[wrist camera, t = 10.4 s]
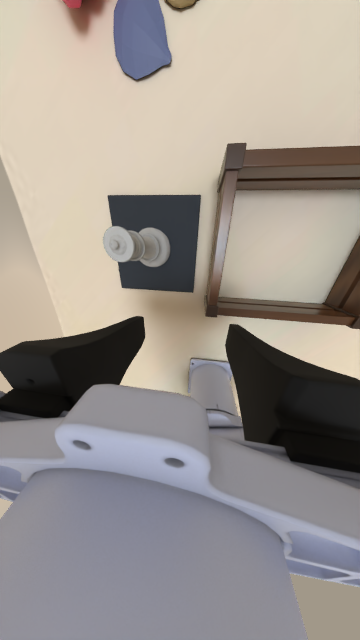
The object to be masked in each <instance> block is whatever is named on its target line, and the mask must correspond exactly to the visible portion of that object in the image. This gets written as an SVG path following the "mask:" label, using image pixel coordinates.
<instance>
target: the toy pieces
mask: <svg viewBox="0 0 360 640" xmlns="http://www.w3.org/2000/svg"><path fill="white" fill-rule="evenodd" d="M63 1H64V3H65V4H66V5H67V6H68V7H69V8H80V7H81V3H82V0H63ZM167 1H168V2H169V3H170V4H171V5H172V6H174V7H177V8H184V7H187V6H190V5H193V3H194V2H195V1H196V0H167ZM114 42H115V52H116V57H117V59H118V61H119V63H120V65H121V67H122V70H123V72H125V73H126V74H128V75H130V76H131V77H133V78H134V79H136V80H137V79H139V78H142V77H144V76H146V75H149V74H150V73H152V72H154V71H155V70H157V69H158V68H160V67H161V66H163V65H167V64H169V63H170V61H171V53H170V51H169V48H168V44H167V38H166V31H165V24H164V18H163V14H162V11H161V8H160V4H159V1H158V0H118V1H117V4H116V7H115V10H114Z"/></svg>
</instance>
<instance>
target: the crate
mask: <svg viewBox="0 0 360 640" xmlns="http://www.w3.org/2000/svg"><path fill="white" fill-rule="evenodd" d="M296 189H360V146H340V147H312V148H283V149H255V150H246V143H234V144H228V145H227V148H226V152H225V156H224V160H223V164H222V167H221V171H220V175H219V183H218V191H217V192H219V198H218V206H217V214H216V223H215V231H214V239H213V247H212V255H211V263H210V272H209V280H208V288H207V295H205V301H204V306H205V316H207V317H217V315H224V316H237V317H249V318H262V319H274V320H287V321H299V322H312V323H324V324H336V325H346V326H348V327H350V328H353V329H360V237H359V239H358V241H357V243H356V245H355V247H354V248H353V250H352V252H351V254H350V256H349V258H348V260H347V262H346V264H345V265H344V267H343V269H342V271H341V273H340V275H339V277H338V279H337V281H336V282H335V284H334V286H333V288H332V290H331V292H330V294H329V296H328V298H327V299H326V301H325V303H323V304H312V303H298V302H283V301H268V300H253V299H239V298H224V297H218V296H219V289H220V283H221V277H222V271H223V265H224V259H225V252H226V246H227V240H228V234H229V228H230V222H231V216H232V209H233V203H234V197H235V191H236V190H296Z"/></svg>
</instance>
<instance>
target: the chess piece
mask: <svg viewBox="0 0 360 640" xmlns="http://www.w3.org/2000/svg"><path fill="white" fill-rule="evenodd" d="M103 244H104V248H105V250H106V252H107V254H108V255H109V256H110V257H111V258H112V259H113V260H115V261H118V262H127V261H129V260H131V261H138V260H140V261H141V262H142V263H143V264H145V265H146V266H149V267H157V266H161V265H163V264H164V263H165V262H166V261H167V260H168V258H169V256H170V243H169V240H168V238H167V236H166V235H165V234H164V233H163V232H161V231H160V230H158V229H155V228H145V229H142V230H141V231H140V232H139V233H137V232H135V231H127V230H126V229H124V228H123V227H119V226H113V227H110V228H108V229H107V230H106V232H105V234H104V237H103Z"/></svg>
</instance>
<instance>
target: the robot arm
mask: <svg viewBox="0 0 360 640" xmlns="http://www.w3.org/2000/svg"><path fill="white" fill-rule="evenodd" d="M144 339H145V328H144V318H143V317H140V316H135V317H132V318H129V319H127V320H124V321H122V322H119V323H117V324H114V325H111V326H108V327H106V328H103V329H99V330H96V331H92V332H88V333H84V334H79V335H75V336H69V337H63V338H56V339H49V340H37V341H25V342H22V343H19V344H17V345H15V346H13V347H11V348H9V349H7V350H5V351H3V352H1V353H0V371H1V373H2V374H3V375H4V377H5V378H6V379H7V381H8V382H9V383H10V385H11V386H12V387H13V389H12V390H11V391H9V392H8V393H7V394H6V393H4V392H2V391H0V498H2V499H5V500H8V501H11V502H13V503H12V504H11V506H10V507H9V508H8V510H7V511H6V513H5V514H4V515H3V516H2V518H1V519H0V640H308V638H307V634H306V630H305V627H304V624H303V620H302V616H301V613H300V609H299V606H298V602H297V598H296V595H295V592H294V588H293V584H292V581H291V577H290V574H289V573H291V574H296V575H301V576H306V577H312V578H317V579H321V580H326V581H332V582H337V583H342V584H347V585H352V586H357V587H360V380H358V379H356V378H353V377H350V376H347V375H343V374H340V373H337V372H333V371H330V370H327V369H324V368H321V367H318V366H316V365H313V364H310V363H307V362H305V361H302V360H300V359H297V358H295V357H293V356H290V355H288V354H286V353H284V352H282V351H280V350H278V349H276V348H274V347H272V346H270V345H268V344H267V343H265V342H263V341H262V340H260V339H259V338H257V337H256V336H254V335H253V334H251V333H250V332H248V331H247V330H245V329H244V328H243V327H241V326H239V325H236V324H230V325H229V330H228V335H227V339H226V344H225V346H226V353H227V358H228V361H229V362H220V361H211V360H202V359H194V358H193V359H191V361H190V373H189V384H188V393H190V397H188V396H185V395H182V394H179V393H173V392H166V391H158V390H151V389H144V388H137V387H129V386H122V385H120V382H121V380H122V378H123V376H124V374H125V372H126V370H127V369H128V367H129V365H130V364H131V362H132V360H133V359H134V357H135V356H136V354H137V353H138V351H139V349H140V348H141V346H142V344H143V342H144ZM230 367H231V368H230ZM232 374H233V377H234V381H235V384H236V389H237V394H238V400H239V406H240V411H241V418H242V422H241V418H240V416H238V412H237V408H236V404H235V399H234V395H233V391H232V387H231V383H230V381H231V377H232ZM242 425H243V426H242Z"/></svg>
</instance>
